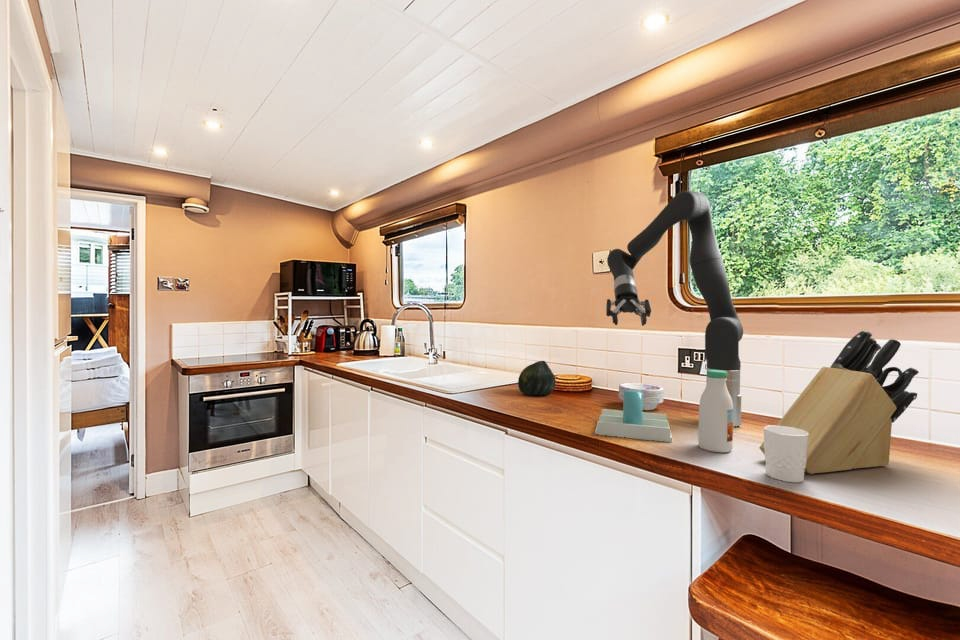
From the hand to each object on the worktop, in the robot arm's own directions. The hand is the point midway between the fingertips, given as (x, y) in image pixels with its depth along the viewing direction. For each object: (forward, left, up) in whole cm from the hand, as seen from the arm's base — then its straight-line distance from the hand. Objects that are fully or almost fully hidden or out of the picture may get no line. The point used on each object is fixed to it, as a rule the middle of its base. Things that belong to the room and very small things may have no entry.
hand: (630, 323), depth 146 cm
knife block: (-48, +28, -31) cm, 63 cm away
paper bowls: (-4, -15, -31) cm, 35 cm away
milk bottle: (-22, +28, -31) cm, 47 cm away
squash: (+36, -24, -31) cm, 53 cm away
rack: (-2, +18, -31) cm, 35 cm away
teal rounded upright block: (-2, +22, -29) cm, 37 cm away
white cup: (-33, +44, -31) cm, 63 cm away
